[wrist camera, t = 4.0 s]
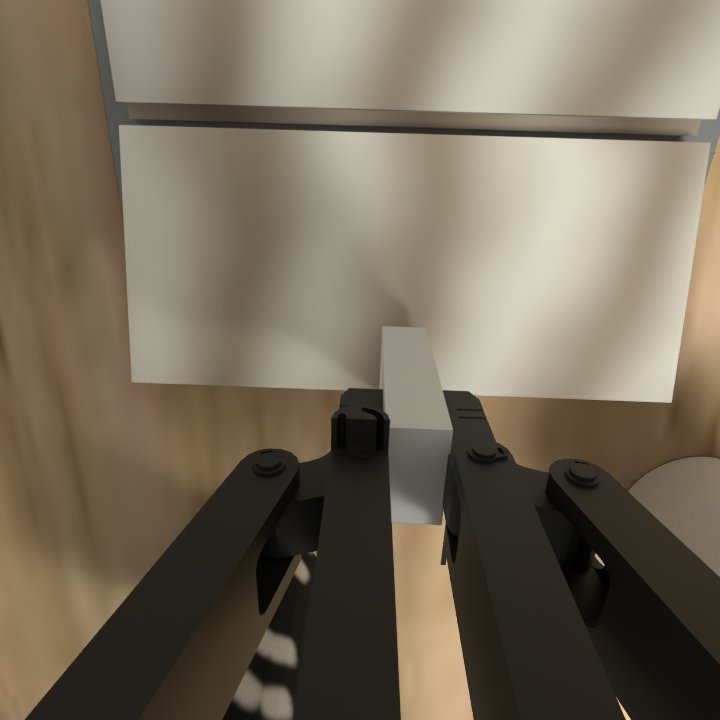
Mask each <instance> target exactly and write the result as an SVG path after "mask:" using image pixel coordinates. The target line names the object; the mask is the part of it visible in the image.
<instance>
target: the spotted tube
mask: <svg viewBox="0 0 720 720" xmlns="http://www.w3.org/2000/svg"><path fill="white" fill-rule="evenodd" d="M315 564H316V557H315V555H314V554H313V553H312V552H309V553H305V554H302V555H301V560H300V563H299V565H298V567H297V569H296V571H295V573H294V575H293V577H292V579H291V581H290V583H289V585H288V587H287V589H286V592H285V594H284V596H283V598H282V600H281V602H280V604H279V606H278V608H277V610H276V612H275V614H274V616H273V618H272V620H271V622H270V624H269V626H268V628H267V630H266V632H265V634H264V636H263V638H262V640H261V642H260V644H259V646H258V648H257V650H256V652H255V654H254V656H253V658H252V660H251V662H250V665H249V667H248V669H247V671H246V673H245V675H244V677H243V679H242V681H241V683H240V685H239V687H238V689H237V691H236V693H235V695H234V697H233V699H232V701H231V703H230V705H229V707H228V709H227V711H226V713H225V715H224V717H223V719H222V720H294V716H295V709H296V702H297V694H298V687H299V680H300V673H301V665H302V658H303V651H304V644H305V636H306V629H307V622H308V615H309V607H310V600H311V593H312V586H313V578H314V571H315Z"/></svg>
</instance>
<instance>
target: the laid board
mask: <svg viewBox="0 0 720 720" xmlns="http://www.w3.org/2000/svg"><path fill="white" fill-rule="evenodd" d="M100 1H101V7H102V14H103V20H104V27H105V33H106V39H107V46H108V52H109V59H110V65H111V72H112V78H113V85H114V91H115V98H116V102H123V103H127V106H128V113H129V119H139V120H173V121H206V122H239V123H272V124H305V125H338V126H372V127H405V128H438V129H471V130H504V131H537V132H571V133H604V134H637V135H670V136H697V135H698V132H699V128H700V125H701V121H702V120H713V119H717V115H718V112H719V108H720V0H100Z"/></svg>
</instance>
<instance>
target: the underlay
mask: <svg viewBox="0 0 720 720" xmlns="http://www.w3.org/2000/svg"><path fill="white" fill-rule="evenodd" d="M88 5H89V11H90V18H91V24H92V30H93V36H94V42H95V48H96V54H97V60H98V67H99V73H100V79H101V85H102V91H103V97H104V103H105V109H106V116H107V122H108V128H109V134H110V140H111V146H112V152H113V158H114V164H115V171H116V177H117V183H118V189H119V195H120V201H121V207H122V213H123V199H122V179H121V159H120V139H119V125H140V126H173V127H206V128H239V129H272V130H305V131H338V132H371V133H404V134H437V135H470V136H503V137H536V138H569V139H602V140H635V141H668V142H701V143H711V144H710V151H709V158H708V164H707V171H706V177H705V182H706V179H707V175H708V172H709V169H710V165H711V162H712V158H713V155H714V152H715V148H716V145H717V142H718V138H719V135H720V108H719V112H718V115H717V119H713V120H702V121H701V125H700V128H699V132H698V135H697V136H670V135H637V134H604V133H571V132H537V131H504V130H471V129H438V128H405V127H372V126H338V125H305V124H272V123H239V122H206V121H173V120H139V119H129V113H128V106H127V103H123V102H116V98H115V91H114V85H113V78H112V72H111V65H110V59H109V52H108V46H107V39H106V33H105V27H104V20H103V14H102V7H101V1H100V0H88ZM704 185H705V184H704ZM123 220H124V219H123Z"/></svg>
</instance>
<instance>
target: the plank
mask: <svg viewBox="0 0 720 720" xmlns="http://www.w3.org/2000/svg"><path fill="white" fill-rule="evenodd" d="M119 139H120V159H121V179H122V199H123V219H124V240H125V260H126V280H127V300H128V320H129V340H130V360H131V381H132V382H136V383H163V384H189V385H216V386H242V387H269V388H295V389H322V390H348V389H349V388H365V389H379V383H380V363H381V343H382V326H393V327H421V328H426V330H427V334H428V338H429V342H430V345H431V349H432V353H433V357H434V360H435V364H436V368H437V372H438V375H439V379H440V383H441V387H442V390H452V391H469V392H470V393H472V394H473V395H481V396H508V397H534V398H561V399H587V400H614V401H640V402H667V403H672V397H673V390H674V383H675V377H676V370H677V363H678V357H679V350H680V344H681V337H682V330H683V324H684V317H685V310H686V304H687V297H688V290H689V284H690V277H691V270H692V264H693V257H694V251H695V244H696V237H697V231H698V224H699V217H700V211H701V204H702V197H703V191H704V184H705V177H706V171H707V164H708V158H709V151H710V144H711V143H701V142H668V141H635V140H602V139H569V138H536V137H503V136H470V135H437V134H404V133H371V132H338V131H305V130H272V129H239V128H206V127H173V126H140V125H119Z"/></svg>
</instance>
